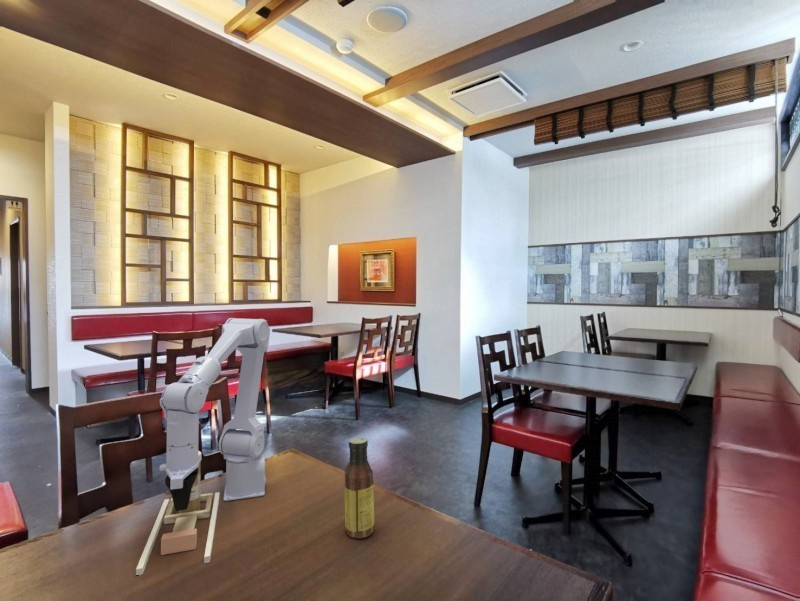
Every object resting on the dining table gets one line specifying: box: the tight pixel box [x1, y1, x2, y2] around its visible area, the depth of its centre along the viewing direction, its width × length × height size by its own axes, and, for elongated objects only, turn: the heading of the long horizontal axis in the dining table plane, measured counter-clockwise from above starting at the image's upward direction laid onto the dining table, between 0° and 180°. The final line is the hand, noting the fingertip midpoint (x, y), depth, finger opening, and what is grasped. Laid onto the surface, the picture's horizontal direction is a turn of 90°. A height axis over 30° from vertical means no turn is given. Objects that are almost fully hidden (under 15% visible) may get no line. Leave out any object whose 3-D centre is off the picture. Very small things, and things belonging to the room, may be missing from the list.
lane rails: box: [135, 491, 221, 576], centre depth 87 cm, size 12×26×1 cm, turn 20°
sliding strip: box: [160, 492, 214, 556], centre depth 90 cm, size 9×20×3 cm, turn 20°
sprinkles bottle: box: [178, 450, 202, 514], centre depth 95 cm, size 5×5×13 cm
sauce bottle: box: [343, 436, 375, 539], centre depth 88 cm, size 7×6×20 cm
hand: (181, 508), depth 84 cm, fingers closed
